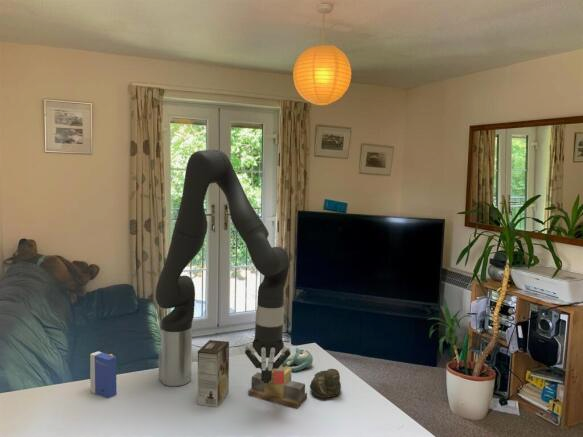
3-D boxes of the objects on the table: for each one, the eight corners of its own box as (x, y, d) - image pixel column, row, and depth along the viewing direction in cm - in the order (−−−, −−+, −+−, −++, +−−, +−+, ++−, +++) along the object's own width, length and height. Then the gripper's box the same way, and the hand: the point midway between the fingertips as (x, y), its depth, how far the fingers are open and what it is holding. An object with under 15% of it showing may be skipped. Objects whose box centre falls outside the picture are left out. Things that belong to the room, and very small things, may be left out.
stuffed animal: (278, 344, 159) (311, 340, 158) (281, 363, 160) (314, 359, 159) (274, 356, 149) (310, 352, 147) (278, 377, 149) (313, 372, 148)
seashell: (315, 387, 127) (349, 384, 129) (308, 351, 136) (339, 349, 138) (310, 407, 134) (342, 404, 136) (303, 372, 143) (333, 370, 145)
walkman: (116, 394, 131) (116, 355, 130) (108, 398, 129) (108, 358, 127) (98, 388, 135) (97, 349, 133) (90, 391, 132) (89, 352, 131)
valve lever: (273, 368, 132) (273, 358, 132) (283, 368, 133) (283, 358, 132) (273, 388, 120) (273, 377, 120) (283, 388, 120) (284, 377, 120)
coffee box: (209, 389, 136) (209, 338, 134) (229, 392, 134) (229, 341, 133) (196, 405, 127) (197, 350, 125) (218, 408, 125) (218, 353, 124)
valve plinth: (248, 395, 133) (248, 368, 132) (259, 385, 139) (260, 360, 138) (297, 408, 126) (298, 380, 125) (306, 398, 132) (307, 371, 132)
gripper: (244, 324, 116) (241, 388, 118) (294, 326, 117) (291, 389, 119) (245, 315, 124) (242, 375, 125) (292, 317, 125) (289, 376, 126)
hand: (266, 382), depth 122 cm, fingers closed
